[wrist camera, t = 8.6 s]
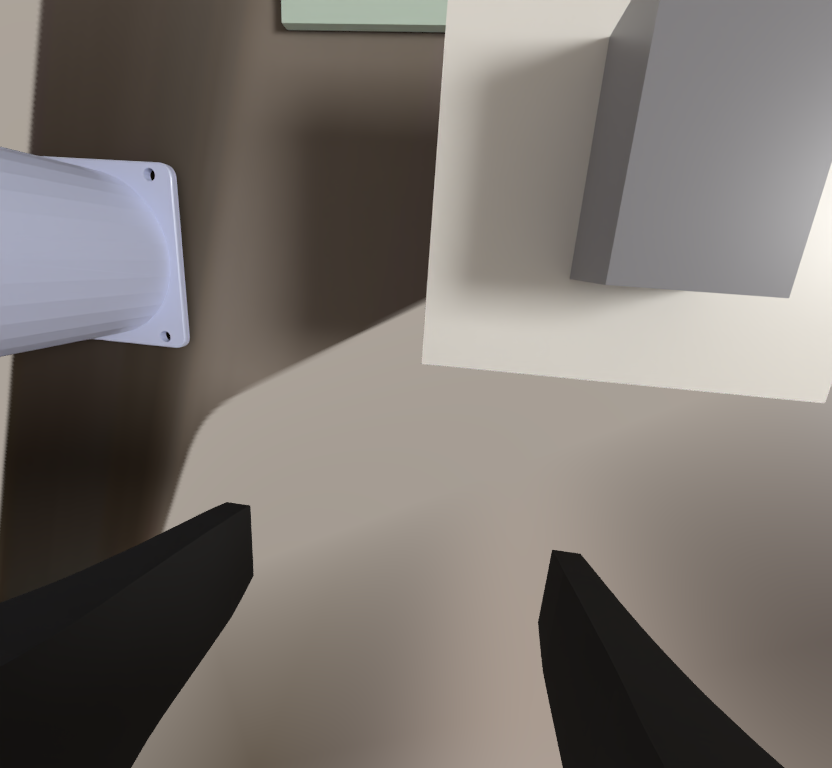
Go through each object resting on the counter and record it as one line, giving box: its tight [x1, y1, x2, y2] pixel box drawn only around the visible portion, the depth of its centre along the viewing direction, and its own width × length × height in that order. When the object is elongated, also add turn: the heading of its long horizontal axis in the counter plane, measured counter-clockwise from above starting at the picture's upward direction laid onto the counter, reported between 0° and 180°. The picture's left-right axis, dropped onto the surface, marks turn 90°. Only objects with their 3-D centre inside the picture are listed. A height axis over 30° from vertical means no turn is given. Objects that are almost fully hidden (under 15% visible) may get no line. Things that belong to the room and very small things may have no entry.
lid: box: [422, 0, 832, 403], centre depth 8 cm, size 10×10×4 cm
